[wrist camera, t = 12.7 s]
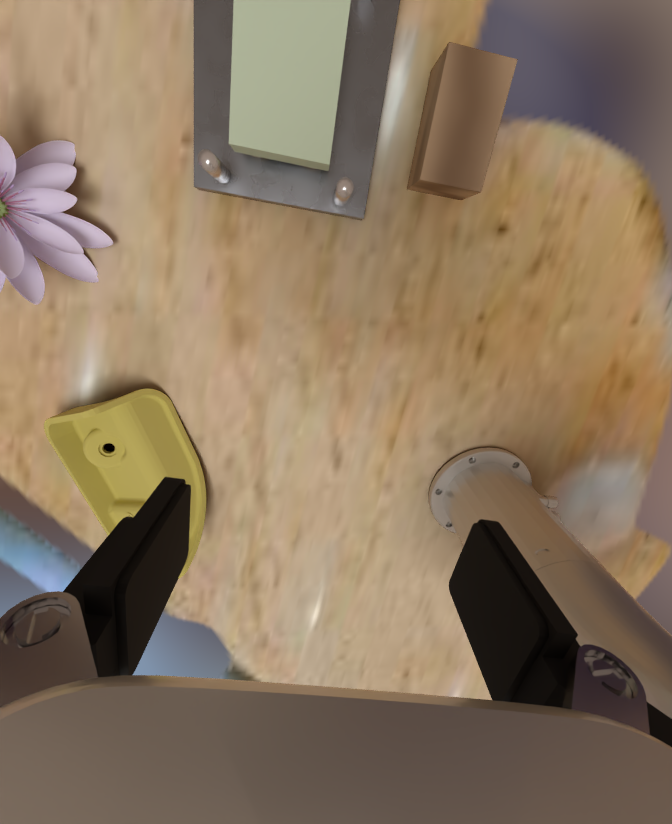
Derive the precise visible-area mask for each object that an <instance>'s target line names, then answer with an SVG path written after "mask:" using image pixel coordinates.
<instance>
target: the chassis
mask: <svg viewBox="0 0 672 824" xmlns="http://www.w3.org/2000/svg"><path fill="white" fill-rule="evenodd" d="M399 3H400V0H351V3H350V10H349V18H348V26H347V34H346V41H345V49H344V57H343V65H342V72H341V80H340V88H339V96H338V103H337V111H336V119H335V127H334V134H333V142H332V150H331V158H330V165H329V171H325V170H320V169H315V168H310V167H305V166H301V165H296V164H291V163H286V162H281V161H277V160H272V159H267V158H262V157H257V156H252V155H248V154H243V153H238V152H234V150H233V149H232V147H231V146H230V145H229V121H230V91H231V62H232V33H233V4H234V0H194V187H195V188H197V189H199V190H202V191H208V192H213V193H218V194H224V195H229V196H234V197H240V198H245V199H250V200H256V201H261V202H266V203H271V204H277V205H282V206H287V207H293V208H298V209H303V210H309V211H314V212H319V213H325V214H330V215H335V216H341V217H346V218H351V219H357V220H363V219H364V214H365V208H366V202H367V196H368V190H369V184H370V177H371V171H372V165H373V159H374V153H375V147H376V141H377V135H378V129H379V123H380V117H381V111H382V105H383V99H384V93H385V87H386V81H387V75H388V69H389V63H390V57H391V51H392V45H393V39H394V33H395V27H396V21H397V15H398V9H399Z"/></svg>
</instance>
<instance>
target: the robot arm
mask: <svg viewBox="0 0 672 824" xmlns="http://www.w3.org/2000/svg"><path fill="white" fill-rule="evenodd" d="M190 504H191V485H189V484H186V482H185V480H184V479H180V478H172V477H165V478H164V479H163V480H162V481H161V482H160V484H159V485H158V486H157V487H156V489H155V490H154V491H153V493H152V494H151V495H150V497H149V498H148V499H147V501H146V502H145V503H144V504H143V506H142V507H141V508H140V510H139V511H138V512H137V514H136V515H135V516H134V517H125V518H123V519H122V520H121V521H120V522H119V523H118V524H117V526H116V527H115V528H114V529H113V531H112V532H111V533H110V534H109V535H108V537H107V538H106V539H105V540H104V542H103V543H102V544H101V545H100V547H99V548H98V549H97V550H96V552H95V553H94V554H93V555H92V557H91V558H90V559H89V560H88V561H87V563H86V564H85V565H84V566H83V568H82V569H81V570H80V571H79V573H78V574H77V575H76V576H75V578H74V579H73V580H72V581H71V583H70V584H69V585H68V586H67V587H66V589H65V590H64V591H63V592H59V591H58V592H46V593H43V594H39V595H35V596H33V597H31V598H28V599H26V600H24V601H22V602H20V603H19V604H17V605H16V606H14V607H12V608H11V609H10V610H8V611H7V612H6V613H5V614H4V615H3V616H2V617H1V618H0V824H672V635H671V634H670V633H668V632H667V631H666V630H665V629H664V628H663V627H662V626H661V625H660V624H659V623H658V622H657V621H656V620H655V619H654V618H653V617H652V616H651V615H650V614H649V613H648V612H647V611H646V610H645V609H644V608H643V607H642V606H641V605H640V604H639V603H638V602H637V601H636V600H635V599H634V598H633V597H632V596H631V595H630V594H629V593H628V592H627V591H626V590H625V589H624V588H623V587H622V586H621V585H620V584H619V583H618V582H617V581H616V579H615V578H614V577H613V576H612V575H611V574H610V573H609V572H608V571H607V570H606V569H605V568H604V567H603V566H602V565H601V564H600V563H599V562H598V561H597V559H596V558H595V557H594V556H593V555H592V554H591V553H590V552H589V551H588V550H587V549H586V548H585V547H584V546H583V545H582V544H581V543H580V542H579V541H578V539H577V538H576V537H575V536H574V535H573V534H572V533H571V532H570V531H569V530H568V529H567V528H566V527H565V526H564V525H563V524H562V523H561V519H560V516H559V514H558V513H556V512H551V511H550V510H549V509H548V508H557V506H558V500H557V498H556V497H553V496H541V495H540V494H539V493H538V492H537V491H536V490H535V489H534V488H533V487H532V480H531V475H530V472H529V470H528V468H527V467H526V465H525V464H524V463H523V462H522V461H521V460H520V459H519V458H518V457H517V456H516V455H514V454H512V453H510V452H509V451H506V450H503V449H499V448H478V449H474V450H470V451H467V452H465V453H462V454H460V455H458V456H457V457H455V458H453V459H452V460H450V461H449V462H448V463H447V464H445V465H444V466H443V467H442V468H441V470H440V471H439V472H438V473H437V475H436V476H435V478H434V479H433V481H432V484H431V487H430V490H429V506H430V509H431V511H432V513H433V515H434V517H435V519H436V520H437V522H438V523H439V524H440V525H441V526H442V527H444V528H445V529H447V530H449V531H451V532H453V533H457V534H458V536H459V538H460V540H461V542H462V544H463V546H464V547H463V549H462V552H461V554H460V557H459V559H458V561H457V564H456V566H455V569H454V571H453V574H452V576H451V579H450V582H449V590H450V594H451V596H452V599H453V601H454V604H455V606H456V609H457V612H458V614H459V617H460V619H461V622H462V624H463V627H464V629H465V632H466V634H467V637H468V639H469V642H470V644H471V647H472V650H473V652H474V655H475V657H476V660H477V662H478V665H479V667H480V670H481V672H482V675H483V677H484V680H485V683H486V685H487V688H488V690H489V693H490V695H491V698H492V700H482V699H470V698H459V697H447V696H435V695H424V694H412V693H399V692H387V691H374V690H362V689H349V688H336V687H323V686H310V685H297V684H283V683H269V682H256V681H242V680H228V679H212V678H194V677H175V676H145V675H138V676H137V675H136V676H135V675H132V674H133V673H134V671H135V669H136V667H137V665H138V663H139V661H140V659H141V657H142V655H143V653H144V650H145V648H146V646H147V644H148V641H149V640H150V638H151V635H152V633H153V631H154V629H155V627H156V625H157V623H158V621H159V618H160V616H161V614H162V612H163V610H164V608H165V606H166V603H167V601H168V599H169V597H170V595H171V593H172V591H173V589H174V586H175V584H176V582H177V580H178V578H179V576H180V574H181V572H182V569H183V567H184V565H185V563H186V560H187V557H188V552H189V529H190Z"/></svg>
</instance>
